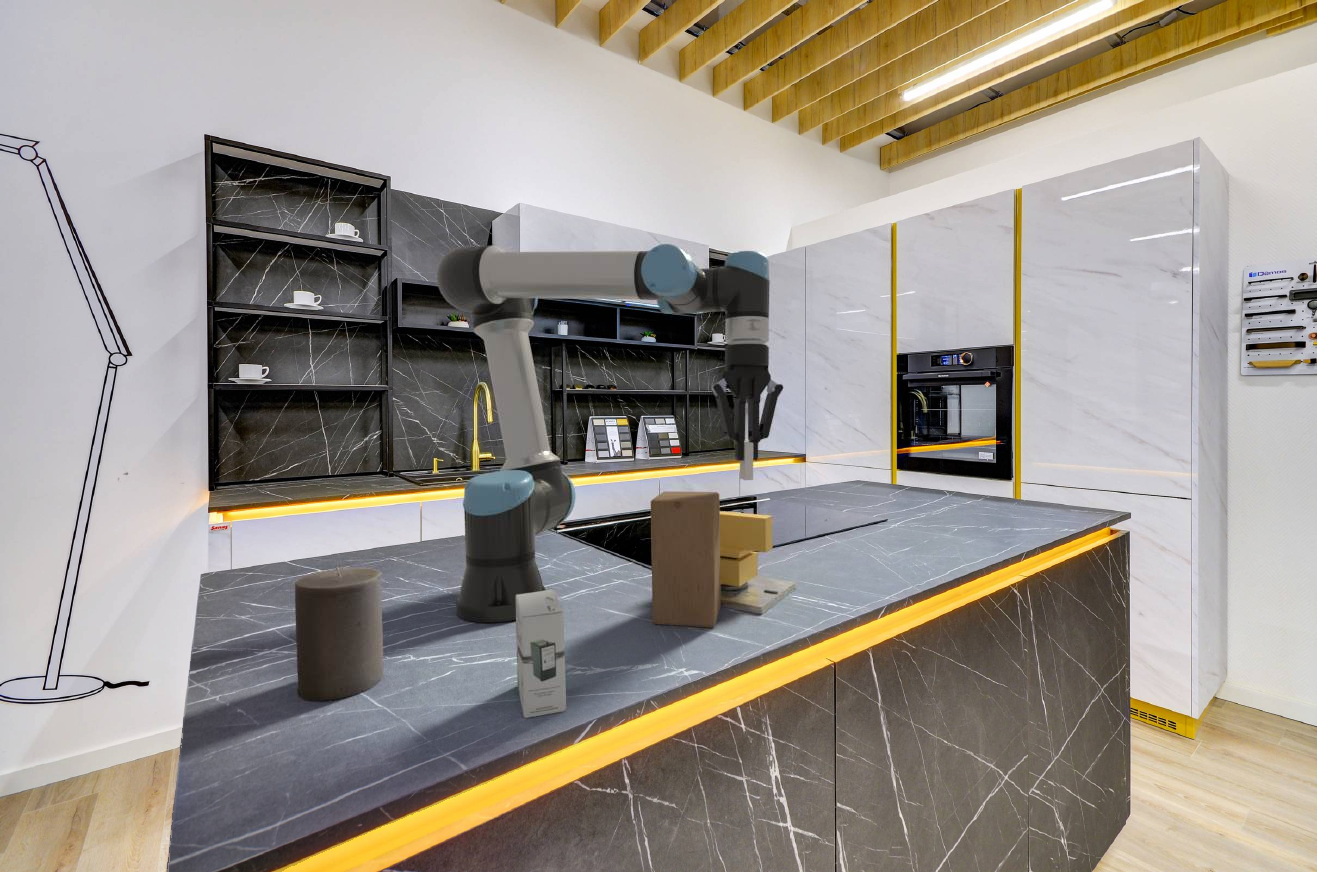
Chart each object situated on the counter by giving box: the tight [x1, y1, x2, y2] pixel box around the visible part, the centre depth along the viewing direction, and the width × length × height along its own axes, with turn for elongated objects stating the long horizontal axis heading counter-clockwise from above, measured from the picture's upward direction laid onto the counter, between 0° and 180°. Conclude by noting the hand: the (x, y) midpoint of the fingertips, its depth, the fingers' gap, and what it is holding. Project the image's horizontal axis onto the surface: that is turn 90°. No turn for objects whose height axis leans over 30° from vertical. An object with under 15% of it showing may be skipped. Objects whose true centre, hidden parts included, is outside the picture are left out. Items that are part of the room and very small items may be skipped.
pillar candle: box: [294, 566, 384, 702], centre depth 73 cm, size 10×10×15 cm
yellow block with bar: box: [720, 510, 773, 587], centre depth 107 cm, size 11×16×12 cm
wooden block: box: [650, 490, 722, 628], centre depth 95 cm, size 10×10×20 cm
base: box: [720, 556, 797, 615], centre depth 107 cm, size 20×16×10 cm
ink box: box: [515, 589, 567, 719], centre depth 68 cm, size 9×5×12 cm, turn 19°
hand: (746, 479), depth 101 cm, fingers closed
